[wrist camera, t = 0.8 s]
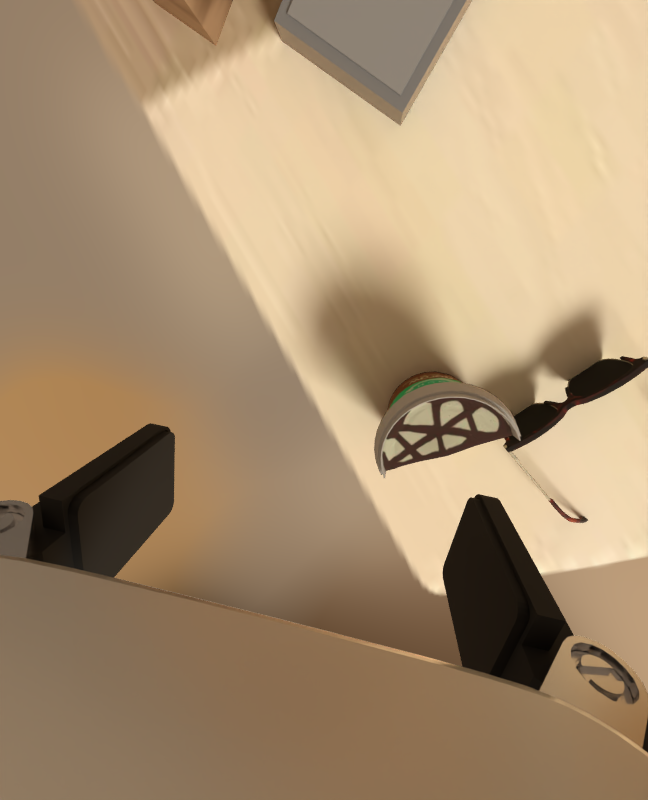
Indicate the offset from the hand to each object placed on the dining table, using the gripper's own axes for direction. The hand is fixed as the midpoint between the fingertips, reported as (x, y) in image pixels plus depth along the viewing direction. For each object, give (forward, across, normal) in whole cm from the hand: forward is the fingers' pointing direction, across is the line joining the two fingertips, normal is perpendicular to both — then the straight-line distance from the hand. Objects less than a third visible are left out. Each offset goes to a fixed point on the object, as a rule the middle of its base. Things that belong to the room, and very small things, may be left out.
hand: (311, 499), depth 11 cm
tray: (+28, +3, -27) cm, 39 cm away
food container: (+28, -8, +4) cm, 29 cm away
